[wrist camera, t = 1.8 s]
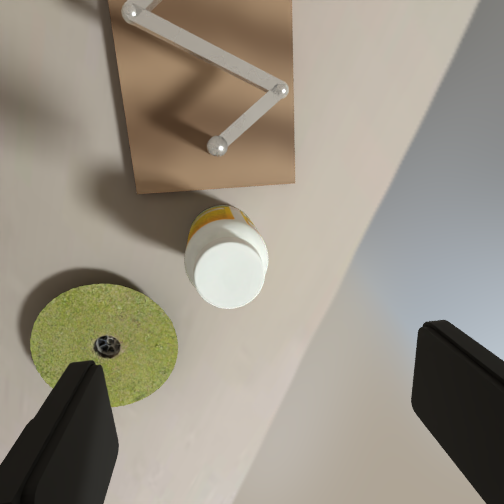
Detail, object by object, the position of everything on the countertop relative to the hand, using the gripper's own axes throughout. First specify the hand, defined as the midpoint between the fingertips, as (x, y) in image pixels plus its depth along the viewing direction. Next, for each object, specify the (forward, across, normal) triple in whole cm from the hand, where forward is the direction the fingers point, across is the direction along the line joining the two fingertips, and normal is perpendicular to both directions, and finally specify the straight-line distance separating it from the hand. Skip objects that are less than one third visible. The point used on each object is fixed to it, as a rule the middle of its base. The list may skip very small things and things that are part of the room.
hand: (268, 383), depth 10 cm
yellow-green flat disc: (+19, +11, +8) cm, 23 cm away
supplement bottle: (+19, +1, 0) cm, 19 cm away
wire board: (+19, +1, -14) cm, 24 cm away
